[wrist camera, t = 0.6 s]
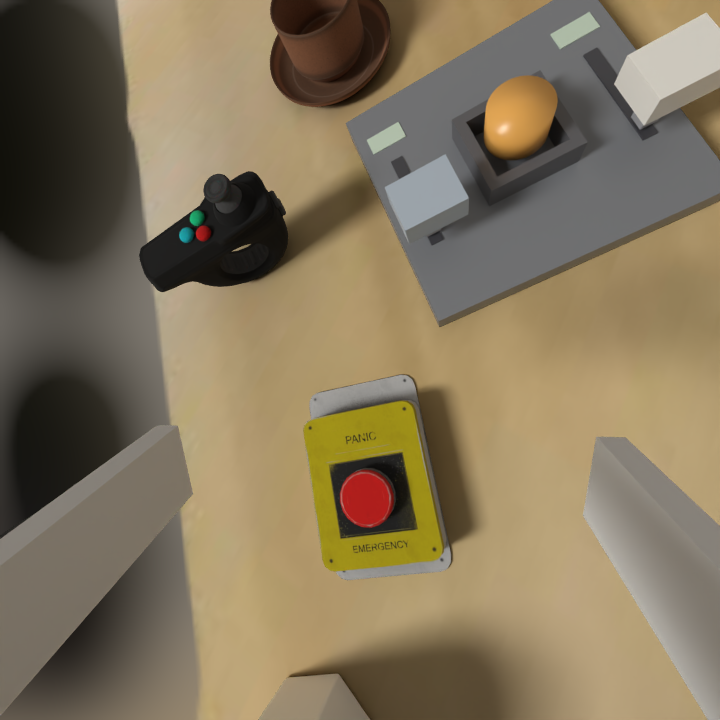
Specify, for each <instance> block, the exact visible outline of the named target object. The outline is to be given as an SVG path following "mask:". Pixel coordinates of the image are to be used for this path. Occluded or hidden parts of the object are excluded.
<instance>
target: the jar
mask: <svg viewBox="0 0 720 720" xmlns="http://www.w3.org/2000/svg"><path fill="white" fill-rule="evenodd" d="M258 720H370V719H369V717H368V716H367V714H366V713H365V711H364V710H363V708H362V707H361V706H360V704H359V703H358V701H357V700H356V698H355V697H354V695H353V694H352V692H351V691H350V690H349V688H348V687H347V685H346V684H345V682H344V681H343V679H342V678H341V676H340V675H339V674H325V675H313V676H301V677H288V678H286V679H285V680H284V681H283V683H282V684H281V686H280V687H279V689H278V690H277V692H276V693H275V695H274V696H273V698H272V699H271V701H270V702H269V704H268V705H267V707H266V708H265V710H264V711H263V713H262V714H261V716H260V717H259V719H258Z"/></svg>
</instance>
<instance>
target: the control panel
mask: <svg viewBox="0 0 720 720" xmlns="http://www.w3.org/2000/svg"><path fill="white" fill-rule="evenodd" d="M634 51H636V49H635V48H634V46H633V45H632V44H631V43H630V41H629V40H628V39H627V37H626V36H625V35H624V33H623V32H622V31H621V29H620V28H619V27H618V25H617V24H616V23H615V21H614V20H613V19H612V17H611V16H610V15H609V13H608V12H607V11H606V9H605V8H604V7H603V6H602V4H601V3H600V2H599V0H553V1H551V2H550V3H548V4H546V5H544V6H543V7H541V8H539V9H538V10H536V11H534V12H533V13H531V14H529V15H528V16H526V17H524V18H523V19H521V20H519V21H517V22H516V23H514V24H512V25H511V26H509V27H507V28H506V29H504V30H502V31H501V32H499V33H497V34H495V35H494V36H492V37H490V38H489V39H487V40H485V41H484V42H482V43H480V44H479V45H477V46H475V47H474V48H472V49H470V50H468V51H467V52H465V53H463V54H462V55H460V56H458V57H457V58H455V59H453V60H452V61H450V62H448V63H447V64H445V65H443V66H441V67H440V68H438V69H436V70H435V71H433V72H431V73H430V74H428V75H426V76H425V77H423V78H421V79H419V80H418V81H416V82H414V83H413V84H411V85H409V86H408V87H406V88H404V89H403V90H401V91H399V92H398V93H396V94H394V95H392V96H391V97H389V98H387V99H386V100H384V101H382V102H381V103H379V104H377V105H376V106H374V107H372V108H371V109H369V110H367V111H365V112H364V113H362V114H360V115H359V116H357V117H355V118H354V119H352V120H350V121H349V122H347V123H346V125H347V128H348V130H349V133H350V135H351V138H352V140H353V143H354V145H355V147H356V149H357V151H358V153H359V155H360V158H361V160H362V162H363V164H364V166H365V168H366V170H367V173H368V175H369V177H370V179H371V181H372V183H373V185H374V188H375V190H376V192H377V194H378V196H379V198H380V200H381V203H382V205H383V207H384V209H385V211H386V213H387V216H388V218H389V220H390V222H391V224H392V226H393V228H394V231H395V233H396V235H397V237H398V239H399V241H400V243H401V246H402V248H403V250H404V252H405V254H406V256H407V258H408V261H409V263H410V265H411V267H412V269H413V271H414V273H415V276H416V278H417V280H418V282H419V284H420V286H421V289H422V291H423V293H424V295H425V297H426V299H427V301H428V304H429V306H430V308H431V310H432V312H433V314H434V316H435V319H436V321H437V323H438V325H439V327H441V326H444V325H446V324H448V323H450V322H452V321H455V320H457V319H459V318H461V317H464V316H466V315H468V314H470V313H472V312H475V311H477V310H479V309H481V308H484V307H486V306H488V305H490V304H492V303H495V302H497V301H499V300H501V299H503V298H506V297H508V296H510V295H512V294H515V293H517V292H519V291H521V290H523V289H526V288H528V287H530V286H532V285H535V284H537V283H539V282H541V281H543V280H546V279H548V278H550V277H552V276H554V275H557V274H559V273H561V272H563V271H566V270H568V269H570V268H572V267H574V266H577V265H579V264H581V263H583V262H586V261H588V260H590V259H592V258H594V257H597V256H599V255H601V254H603V253H605V252H608V251H610V250H612V249H614V248H617V247H619V246H621V245H623V244H625V243H628V242H630V241H632V240H634V239H637V238H639V237H641V236H643V235H645V234H648V233H650V232H652V231H654V230H656V229H659V228H661V227H663V226H665V225H668V224H670V223H672V222H674V221H676V220H679V219H681V218H683V217H685V216H688V215H690V214H692V213H694V212H696V211H699V210H701V209H703V208H705V207H707V206H710V205H712V204H714V203H716V202H718V201H719V200H720V160H719V159H718V158H717V156H716V155H715V154H714V152H713V151H712V150H711V148H710V147H709V146H708V144H707V143H706V142H705V140H704V139H703V138H702V136H701V135H700V134H699V132H698V131H697V130H696V128H695V127H694V126H693V124H692V123H691V122H690V120H689V119H688V118H687V117H686V115H685V114H684V113H683V111H682V110H681V109H680V108H678V109H676V110H674V111H672V112H670V113H669V114H667V115H665V116H663V117H661V118H660V119H659V120H658V121H657V122H655V123H653V124H651V125H649V126H647V127H645V128H643V129H641V130H640V129H639V128H638V126H637V125H636V123H635V122H634V121H633V119H632V118H631V116H632V114H633V112H634V111H633V110H632V108H631V107H630V106H629V104H628V103H627V101H626V100H625V99H624V97H623V96H622V94H621V93H620V92H619V90H618V89H617V87H616V86H615V85H614V83H615V81H616V79H617V77H618V75H619V72H620V70H621V68H622V66H623V64H624V62H625V59H626V57H627V55H629V54H631V53H633V52H634ZM527 75H529V76H537V77H540V78H543V79H545V80H546V81H548V82H549V83H550V84H551V85H552V86H553V87H554V89H555V91H556V93H557V98H558V103H557V108H556V111H555V114H554V117H553V121H552V124H551V127H550V130H549V133H548V137H547V139H546V141H545V143H544V144H543V145H542V147H541V148H540V149H539V150H538V151H536V152H535V153H534V154H532V155H530V156H528V157H526V158H523V159H520V160H503V159H500V158H497V157H495V156H494V155H492V154H491V153H490V152H489V151H488V149H487V148H486V146H485V143H484V125H485V113H486V105H487V102H488V99H489V97H490V96H491V94H492V93H493V92H494V90H495V89H496V88H497V87H499V86H500V85H501V84H503V83H504V82H506V81H508V80H510V79H512V78H515V77H519V76H527ZM445 154H446V156H447V158H448V160H449V162H450V164H451V166H452V167H453V169H454V171H455V173H456V175H457V177H458V179H459V181H460V182H461V184H462V186H463V188H464V190H465V192H466V194H467V195H468V197H469V210H468V215H466V216H464V217H462V218H460V219H458V220H456V221H454V222H452V223H450V224H448V225H446V226H444V227H443V228H441V230H440V231H438V232H436V233H434V234H432V235H430V236H428V237H426V236H425V237H423V238H421V239H419V240H417V241H415V242H413V243H411V244H409V242H408V240H407V238H406V236H405V234H404V232H403V230H402V228H401V226H400V223H399V221H398V219H397V217H396V215H395V213H394V211H393V209H392V206H391V204H390V202H389V199H388V196H387V193H386V190H385V187H386V186H388V185H390V184H391V183H393V182H395V181H397V180H399V179H401V178H403V177H404V176H406V175H408V174H410V173H412V172H414V171H415V170H417V169H419V168H421V167H423V166H425V165H426V164H428V163H430V162H432V161H434V160H436V159H438V158H439V157H441V156H443V155H445Z"/></svg>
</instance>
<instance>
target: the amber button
mask: <svg viewBox="0 0 720 720" xmlns="http://www.w3.org/2000/svg"><path fill="white" fill-rule="evenodd" d="M557 103H558V98H557V93H556V91H555V89H554V87H553V86H552V85H551V84H550V83H549V82H548V81H546V80H545V79H543V78H540V77H537V76H529V75H527V76H519V77H515V78H512V79H510V80H508V81H506V82H504V83H503V84H501V85H500V86H499V87H497V88H496V89H495V90H494V92H493V93H492V94H491V96H490V97H489V99H488V102H487V105H486V113H485V125H484V143H485V146H486V148H487V149H488V151H489V152H490V153H491V154H492V155H494V156H495V157H497V158H500V159H503V160H520V159H523V158H526V157H528V156H530V155H532V154H534V153H535V152H536V151H538V150H539V149H540V148H541V147H542V145H543V144H544V143H545V141H546V139H547V137H548V133H549V130H550V127H551V124H552V121H553V117H554V114H555V111H556V108H557Z"/></svg>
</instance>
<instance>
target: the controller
mask: <svg viewBox="0 0 720 720" xmlns="http://www.w3.org/2000/svg"><path fill="white" fill-rule="evenodd" d="M204 196H205V198H204V200H203V201H202V203H201V204H200V206H199V207H197V208H196V209H194V210H193V211H192V212H190V213H189V214H187V215H186V216H185V217H183V218H182V219H180V220H179V221H178V222H176V223H175V224H173V225H172V226H171V227H169V228H168V229H167V230H165V231H164V232H162V233H161V234H160V235H158V236H157V237H155V238H154V239H153V240H151V241H150V242H149V243H147V244H146V245H144V246H143V247H142V248H141V250H140V254H139V256H140V262H141V265H142V268H143V271H144V273H145V275H146V277H147V278H148V280H149V281H150V282H151V283H152V284H153V285H154V286H155V288H156V289H157V290H158V291H160V292H165V291H168V290H170V289H173V288H175V287H177V286H179V285H182V284H184V283H187V282H192V281H194V282H199V283H202V284H205V285H209V286H217V287H223V286H233V285H238V284H242V283H246V282H249V281H251V280H254V279H256V278H258V277H260V276H262V275H264V274H265V273H267V272H268V271H269V270H271V269H272V268H273V267H274V266H275V265H276V264H277V263H278V262H279V260H280V259H281V258H282V256H283V254H284V252H285V250H286V247H287V243H288V231H287V227H286V224H285V221H284V219H283V215H285V214H286V211H285V209H284V207H283V205H282V203H281V201H280V200H279V199H278V198H277V196H276V195H275V193H274V191H270V192H268V191H267V190H266V188H265V186H264V184H263V182H262V180H261V179H260V178H259V176H258V175H257V174H256V173H254V172H250V171H248V172H246V173H243V174H241V175H239V176H237V177H236V178H234V179H233V180H231V181H230V180H229V179H228V178H227V177H226V176H225V175H223V174H215V175H213V176H211V177H210V178H209V179H208V180H207V181H206V183H205V185H204ZM247 244H251V245H250V246H248V247H247V248H244V249H241V250H239V251H233V250H235V249H237V248H239V247H241V246H244V245H247ZM232 251H233V252H232Z"/></svg>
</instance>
